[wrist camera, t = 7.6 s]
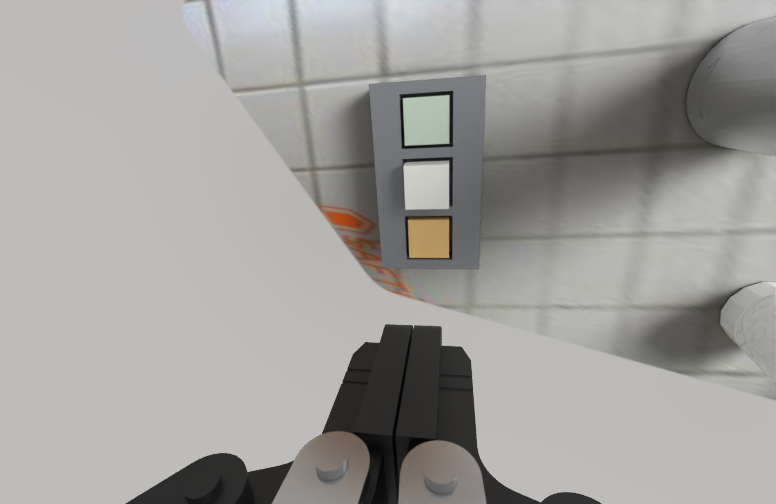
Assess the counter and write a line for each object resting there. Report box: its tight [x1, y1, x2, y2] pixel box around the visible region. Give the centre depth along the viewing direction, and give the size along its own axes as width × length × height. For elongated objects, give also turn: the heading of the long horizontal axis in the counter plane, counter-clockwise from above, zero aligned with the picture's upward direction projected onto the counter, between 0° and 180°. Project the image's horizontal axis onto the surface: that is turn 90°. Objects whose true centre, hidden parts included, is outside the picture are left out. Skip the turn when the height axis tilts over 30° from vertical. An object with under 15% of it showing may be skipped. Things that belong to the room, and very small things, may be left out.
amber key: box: [408, 216, 449, 258], centre depth 34 cm, size 4×4×2 cm
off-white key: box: [403, 161, 449, 210], centre depth 30 cm, size 4×4×2 cm
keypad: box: [369, 75, 486, 269], centre depth 33 cm, size 9×16×4 cm, turn 3°
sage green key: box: [403, 95, 449, 146], centre depth 30 cm, size 4×4×2 cm
